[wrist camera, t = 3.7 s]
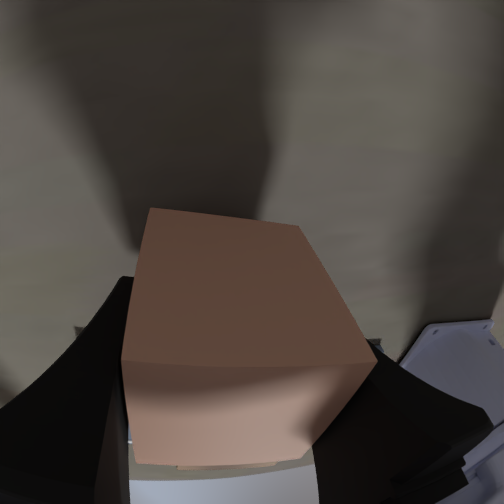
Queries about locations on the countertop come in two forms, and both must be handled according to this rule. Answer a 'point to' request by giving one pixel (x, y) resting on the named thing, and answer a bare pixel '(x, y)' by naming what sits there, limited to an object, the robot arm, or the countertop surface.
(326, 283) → the terracotta block
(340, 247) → the countertop surface
